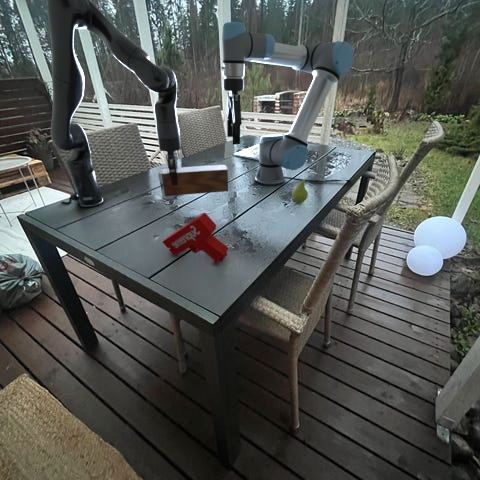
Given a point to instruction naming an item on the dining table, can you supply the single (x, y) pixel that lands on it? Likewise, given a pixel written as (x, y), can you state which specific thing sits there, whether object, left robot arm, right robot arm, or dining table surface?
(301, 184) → the fruit
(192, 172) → the bar
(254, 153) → the white printed flat box
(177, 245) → the toy gun
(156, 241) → the dining table surface
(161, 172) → the ink box
